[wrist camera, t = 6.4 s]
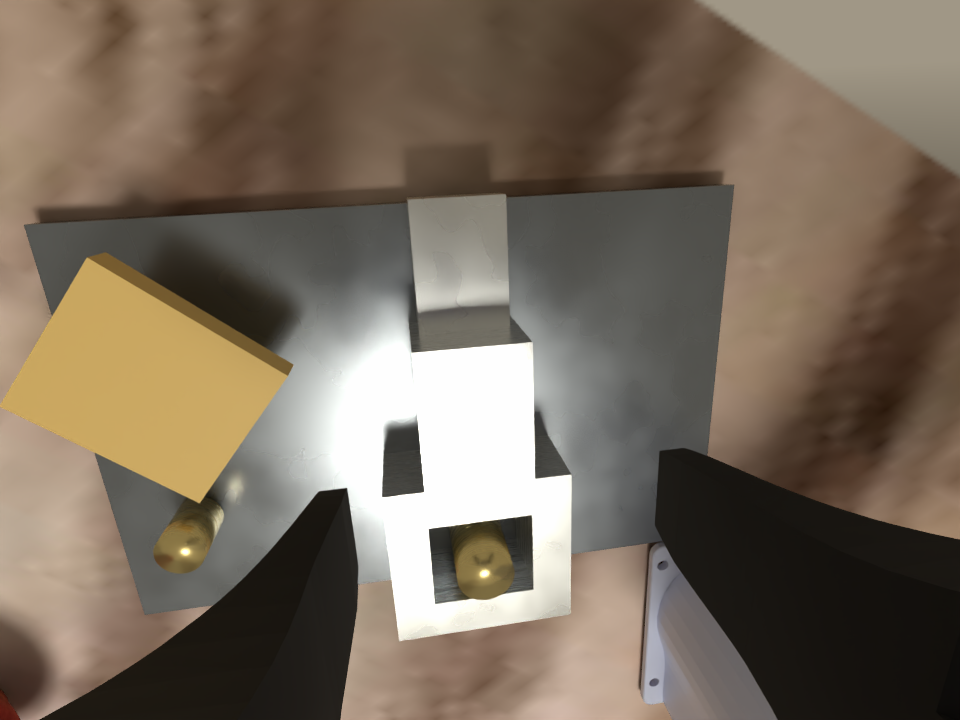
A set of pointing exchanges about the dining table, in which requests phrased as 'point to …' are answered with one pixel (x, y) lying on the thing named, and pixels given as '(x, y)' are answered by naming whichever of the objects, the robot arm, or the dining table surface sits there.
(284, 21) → the dining table surface
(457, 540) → the cylinder
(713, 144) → the dining table surface
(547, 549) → the link
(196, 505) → the post
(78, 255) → the plate
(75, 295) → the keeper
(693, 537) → the robot arm
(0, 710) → the onion
